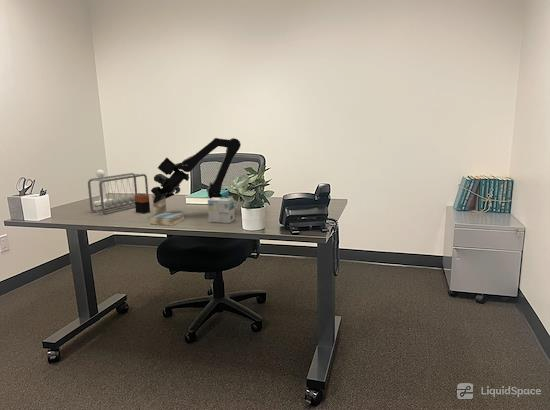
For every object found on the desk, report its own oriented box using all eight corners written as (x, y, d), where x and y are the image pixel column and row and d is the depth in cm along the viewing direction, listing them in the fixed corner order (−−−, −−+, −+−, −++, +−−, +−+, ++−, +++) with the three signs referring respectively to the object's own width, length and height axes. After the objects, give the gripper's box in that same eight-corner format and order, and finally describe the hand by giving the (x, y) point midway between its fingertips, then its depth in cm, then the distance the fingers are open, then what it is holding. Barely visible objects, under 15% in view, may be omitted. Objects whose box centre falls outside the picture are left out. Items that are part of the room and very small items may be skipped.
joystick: (110, 202, 240) (106, 168, 236) (117, 203, 236) (114, 169, 232) (92, 205, 231) (88, 170, 227) (99, 207, 227) (96, 171, 223)
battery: (143, 213, 209) (142, 194, 207) (135, 212, 213) (133, 193, 211) (150, 212, 213) (149, 193, 211) (142, 210, 217) (140, 192, 214)
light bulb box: (234, 219, 194) (234, 197, 192) (230, 223, 187) (229, 200, 185) (213, 218, 196) (212, 196, 194) (208, 222, 190) (207, 199, 188)
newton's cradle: (137, 202, 238) (134, 172, 234) (149, 204, 232) (147, 173, 228) (90, 213, 213) (86, 179, 209) (103, 215, 207) (99, 180, 204)
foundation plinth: (183, 220, 195) (183, 213, 194) (171, 225, 184) (171, 218, 184) (163, 218, 198) (163, 212, 197) (150, 224, 187) (149, 217, 187)
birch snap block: (166, 213, 208) (165, 194, 206) (161, 215, 204) (160, 196, 202) (158, 213, 209) (157, 194, 207) (153, 215, 205) (152, 195, 203)
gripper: (173, 166, 209) (156, 187, 215) (153, 171, 192) (134, 193, 197) (188, 182, 209) (170, 202, 214) (169, 188, 191) (150, 210, 197)
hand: (156, 201), depth 206 cm, fingers closed on birch snap block, 5 cm apart
